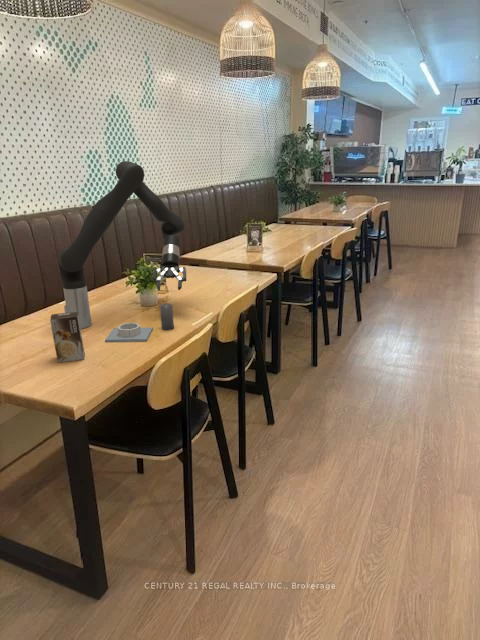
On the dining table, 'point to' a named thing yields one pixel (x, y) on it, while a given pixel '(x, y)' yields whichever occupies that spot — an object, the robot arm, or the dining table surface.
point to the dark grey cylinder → (167, 316)
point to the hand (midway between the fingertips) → (168, 289)
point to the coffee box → (67, 337)
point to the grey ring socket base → (129, 333)
